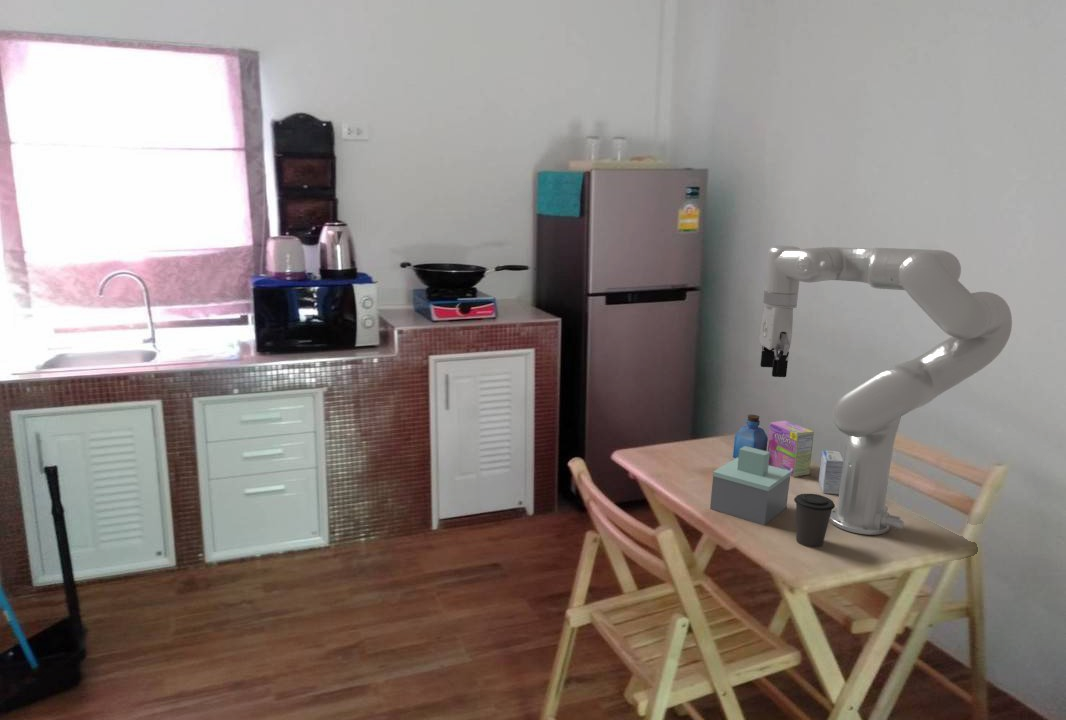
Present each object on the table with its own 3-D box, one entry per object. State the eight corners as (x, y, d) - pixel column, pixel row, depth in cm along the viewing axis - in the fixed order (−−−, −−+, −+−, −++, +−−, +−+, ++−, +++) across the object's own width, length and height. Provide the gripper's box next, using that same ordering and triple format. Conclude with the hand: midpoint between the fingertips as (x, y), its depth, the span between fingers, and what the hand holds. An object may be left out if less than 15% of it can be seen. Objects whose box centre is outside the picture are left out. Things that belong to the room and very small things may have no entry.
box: (765, 464, 218) (769, 421, 215) (781, 461, 220) (786, 419, 218) (792, 477, 209) (797, 433, 206) (809, 475, 211) (815, 431, 208)
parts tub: (786, 507, 189) (790, 475, 187) (764, 525, 179) (768, 490, 177) (733, 492, 197) (737, 461, 195) (710, 508, 187) (713, 475, 185)
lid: (790, 479, 187) (793, 450, 186) (768, 495, 177) (771, 465, 176) (736, 465, 195) (739, 437, 194) (712, 480, 185) (714, 450, 183)
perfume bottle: (746, 453, 226) (750, 411, 223) (765, 459, 221) (770, 417, 219) (732, 457, 222) (737, 415, 219) (751, 464, 217) (756, 421, 215)
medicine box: (841, 495, 198) (845, 461, 196) (822, 493, 199) (826, 459, 197) (836, 484, 205) (840, 451, 204) (817, 482, 206) (821, 449, 204)
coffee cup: (782, 540, 172) (787, 496, 169) (800, 530, 177) (806, 486, 175) (818, 554, 166) (824, 508, 164) (836, 542, 172) (842, 498, 169)
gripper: (754, 293, 197) (747, 363, 201) (774, 304, 180) (767, 380, 184) (785, 295, 197) (778, 364, 201) (808, 306, 180) (800, 381, 184)
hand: (772, 371), depth 192 cm, fingers open, 9 cm apart
